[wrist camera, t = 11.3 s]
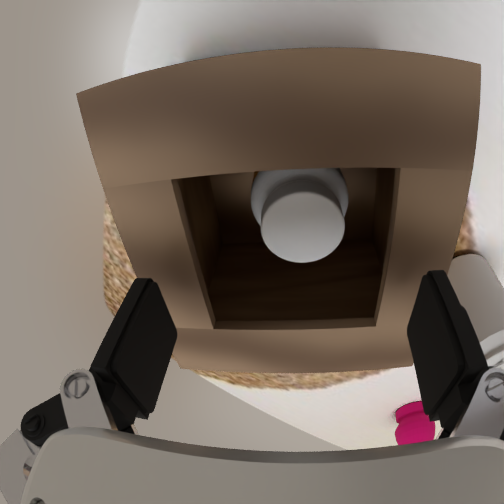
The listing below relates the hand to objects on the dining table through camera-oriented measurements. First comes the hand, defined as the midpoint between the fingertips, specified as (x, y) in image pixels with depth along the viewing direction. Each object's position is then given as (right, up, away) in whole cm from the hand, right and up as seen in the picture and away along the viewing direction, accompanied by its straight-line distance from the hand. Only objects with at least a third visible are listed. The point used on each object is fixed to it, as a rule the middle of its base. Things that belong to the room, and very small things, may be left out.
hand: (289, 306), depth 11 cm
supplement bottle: (+2, +9, +12) cm, 15 cm away
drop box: (+2, +9, +12) cm, 15 cm away
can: (+20, -1, +17) cm, 26 cm away
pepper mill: (+27, -26, +35) cm, 51 cm away
